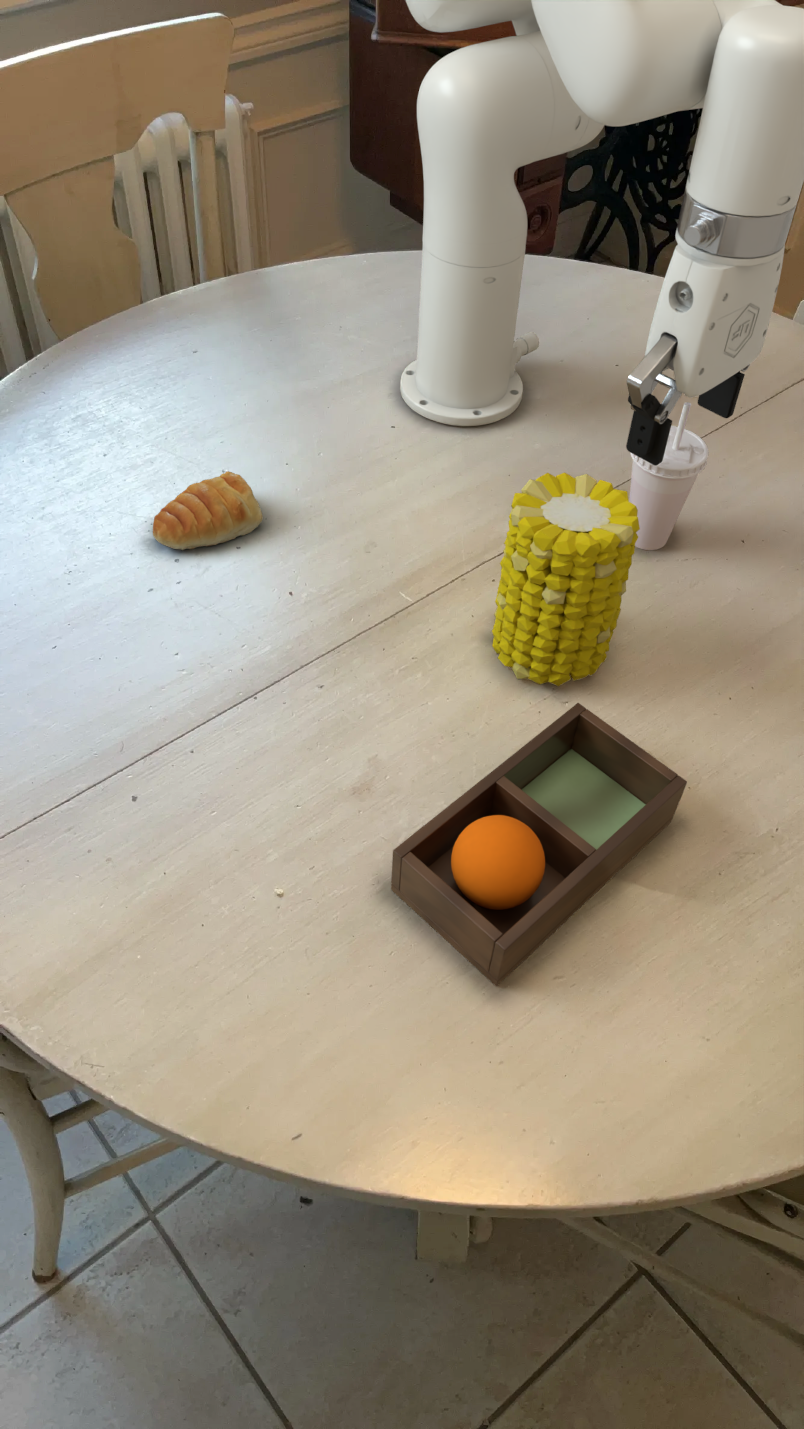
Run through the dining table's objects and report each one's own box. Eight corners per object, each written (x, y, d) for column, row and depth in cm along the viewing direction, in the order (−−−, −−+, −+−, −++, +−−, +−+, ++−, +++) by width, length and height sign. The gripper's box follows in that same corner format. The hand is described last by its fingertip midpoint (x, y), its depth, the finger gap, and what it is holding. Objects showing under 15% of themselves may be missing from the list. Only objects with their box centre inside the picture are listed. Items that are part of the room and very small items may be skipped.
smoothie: (638, 568, 92) (675, 431, 81) (596, 525, 95) (627, 389, 85) (696, 547, 94) (740, 411, 83) (654, 506, 98) (690, 371, 87)
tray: (390, 889, 70) (392, 850, 66) (567, 744, 79) (578, 702, 75) (496, 987, 66) (504, 950, 62) (671, 822, 74) (688, 781, 71)
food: (483, 693, 84) (511, 614, 90) (632, 706, 80) (650, 622, 87) (457, 533, 74) (491, 457, 80) (627, 538, 70) (648, 458, 76)
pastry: (178, 568, 90) (172, 533, 87) (138, 528, 93) (131, 493, 90) (270, 526, 94) (267, 491, 91) (228, 489, 97) (224, 454, 94)
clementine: (490, 833, 72) (499, 780, 68) (557, 888, 70) (571, 838, 65) (429, 884, 69) (434, 833, 65) (496, 944, 67) (506, 895, 62)
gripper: (706, 279, 67) (652, 498, 80) (846, 203, 75) (777, 412, 88) (614, 239, 71) (576, 455, 84) (757, 171, 79) (703, 376, 92)
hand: (679, 433), depth 86 cm, fingers open, 9 cm apart
